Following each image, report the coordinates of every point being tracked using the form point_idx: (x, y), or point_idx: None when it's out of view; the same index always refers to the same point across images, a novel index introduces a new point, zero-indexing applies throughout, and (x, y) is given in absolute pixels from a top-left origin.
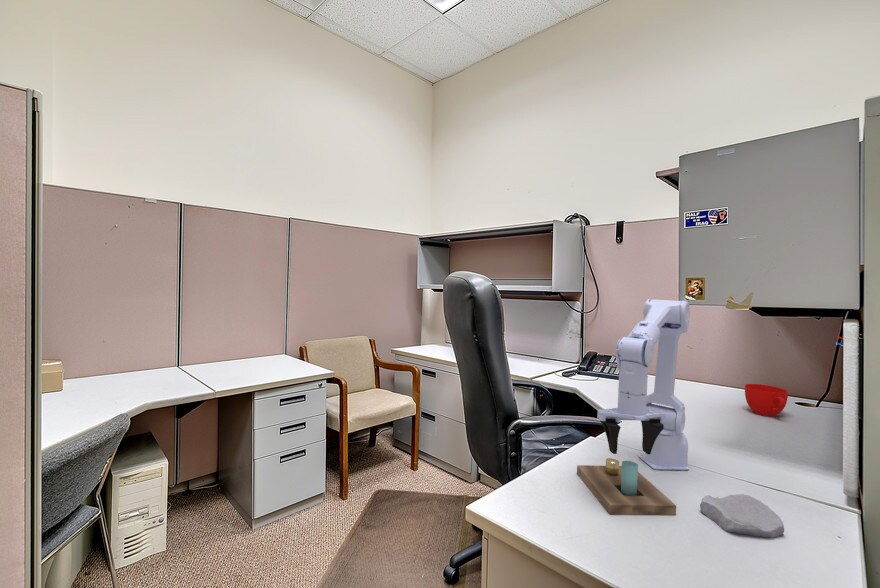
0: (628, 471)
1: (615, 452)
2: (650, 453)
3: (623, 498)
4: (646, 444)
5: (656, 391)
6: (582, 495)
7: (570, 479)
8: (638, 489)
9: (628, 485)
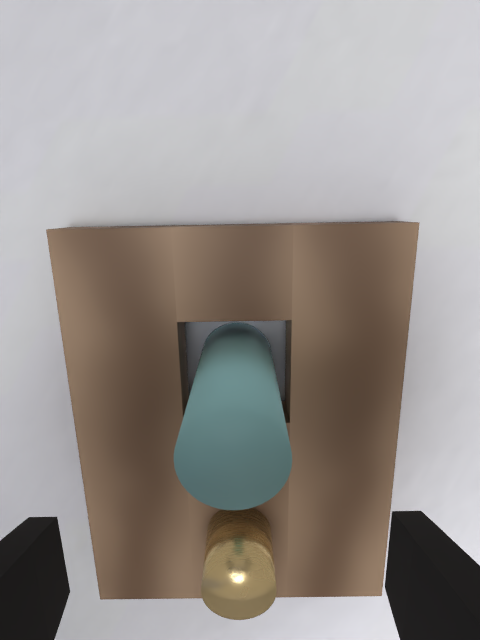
0: (266, 398)
1: (416, 519)
2: (21, 524)
3: (306, 293)
4: (8, 636)
5: None
6: (442, 382)
7: (426, 511)
8: (177, 384)
9: (257, 358)
